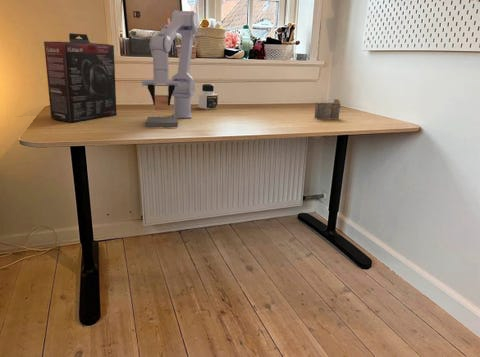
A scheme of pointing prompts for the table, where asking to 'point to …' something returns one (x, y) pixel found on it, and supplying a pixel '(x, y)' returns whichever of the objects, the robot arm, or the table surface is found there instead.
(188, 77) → the robot arm
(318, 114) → the ruin model on sheet
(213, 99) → the medicine bottle
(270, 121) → the table surface
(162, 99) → the cube
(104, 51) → the headset box
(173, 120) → the base block
